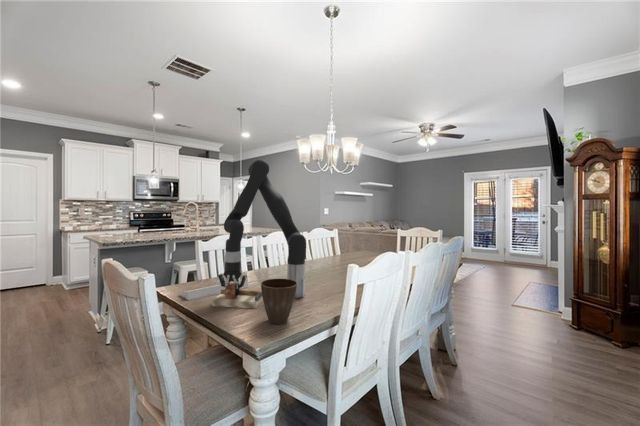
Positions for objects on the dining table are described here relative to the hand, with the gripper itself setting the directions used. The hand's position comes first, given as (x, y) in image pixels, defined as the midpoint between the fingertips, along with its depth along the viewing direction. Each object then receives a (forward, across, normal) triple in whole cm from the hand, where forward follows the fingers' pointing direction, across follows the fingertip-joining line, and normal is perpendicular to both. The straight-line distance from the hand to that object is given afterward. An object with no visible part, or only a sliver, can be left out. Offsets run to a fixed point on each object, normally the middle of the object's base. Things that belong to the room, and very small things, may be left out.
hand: (232, 295), depth 145 cm
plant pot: (+4, -27, +18) cm, 33 cm away
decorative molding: (+5, +16, -17) cm, 24 cm away
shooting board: (+4, -3, 0) cm, 5 cm away
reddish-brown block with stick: (+1, 0, +2) cm, 3 cm away
